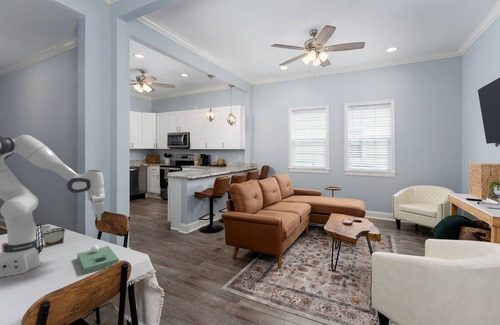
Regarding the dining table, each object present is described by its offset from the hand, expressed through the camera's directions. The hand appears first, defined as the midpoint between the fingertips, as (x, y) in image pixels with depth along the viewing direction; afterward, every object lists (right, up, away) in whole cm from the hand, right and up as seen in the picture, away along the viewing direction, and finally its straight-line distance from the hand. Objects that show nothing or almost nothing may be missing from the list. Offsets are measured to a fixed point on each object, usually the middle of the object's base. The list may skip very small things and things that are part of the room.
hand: (97, 218), depth 146 cm
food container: (-39, -21, +14) cm, 46 cm away
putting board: (+7, -22, -10) cm, 25 cm away
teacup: (-57, -20, +25) cm, 65 cm away
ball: (+2, -17, -6) cm, 18 cm away
